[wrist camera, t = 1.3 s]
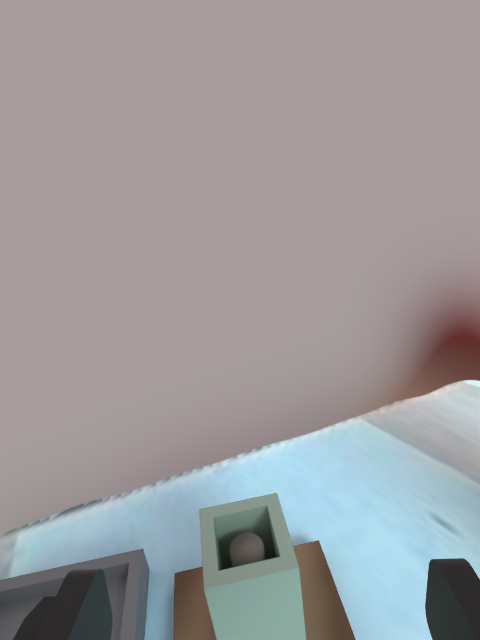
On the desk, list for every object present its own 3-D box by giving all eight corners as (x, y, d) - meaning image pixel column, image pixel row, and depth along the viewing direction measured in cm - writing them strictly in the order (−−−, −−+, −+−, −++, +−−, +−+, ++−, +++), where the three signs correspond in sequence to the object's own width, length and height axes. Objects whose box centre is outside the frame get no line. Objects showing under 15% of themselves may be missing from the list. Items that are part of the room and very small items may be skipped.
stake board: (319, 552, 33) (313, 456, 29) (390, 749, 22) (396, 637, 18) (178, 585, 32) (150, 489, 28) (177, 808, 21) (132, 705, 17)
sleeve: (288, 592, 29) (276, 493, 25) (309, 674, 24) (299, 567, 20) (222, 608, 28) (199, 509, 24) (230, 694, 24) (204, 589, 20)
